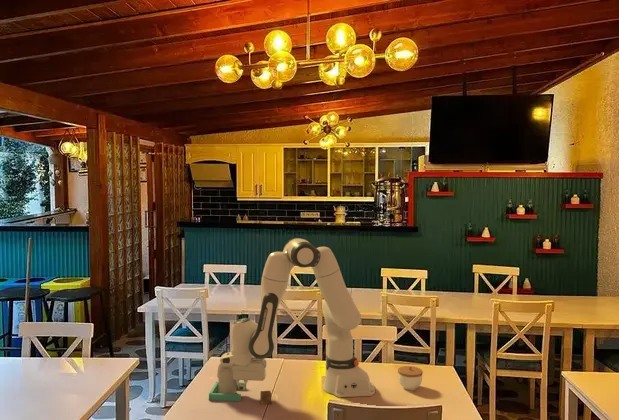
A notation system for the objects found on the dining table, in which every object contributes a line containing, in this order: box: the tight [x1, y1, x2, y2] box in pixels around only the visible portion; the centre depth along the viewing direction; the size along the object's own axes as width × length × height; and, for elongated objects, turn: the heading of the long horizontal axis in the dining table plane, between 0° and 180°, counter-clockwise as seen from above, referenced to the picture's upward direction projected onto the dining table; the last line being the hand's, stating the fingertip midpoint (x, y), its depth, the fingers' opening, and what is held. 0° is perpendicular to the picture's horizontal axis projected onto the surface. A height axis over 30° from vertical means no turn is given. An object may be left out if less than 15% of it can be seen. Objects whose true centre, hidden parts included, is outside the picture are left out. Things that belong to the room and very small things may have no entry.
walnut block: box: [259, 390, 272, 406], centre depth 204 cm, size 4×4×4 cm
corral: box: [208, 381, 247, 402], centre depth 212 cm, size 13×13×2 cm
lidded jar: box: [397, 365, 424, 391], centre depth 221 cm, size 11×11×9 cm
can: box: [217, 368, 237, 394], centre depth 212 cm, size 8×8×12 cm
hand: (241, 389), depth 211 cm, fingers closed
